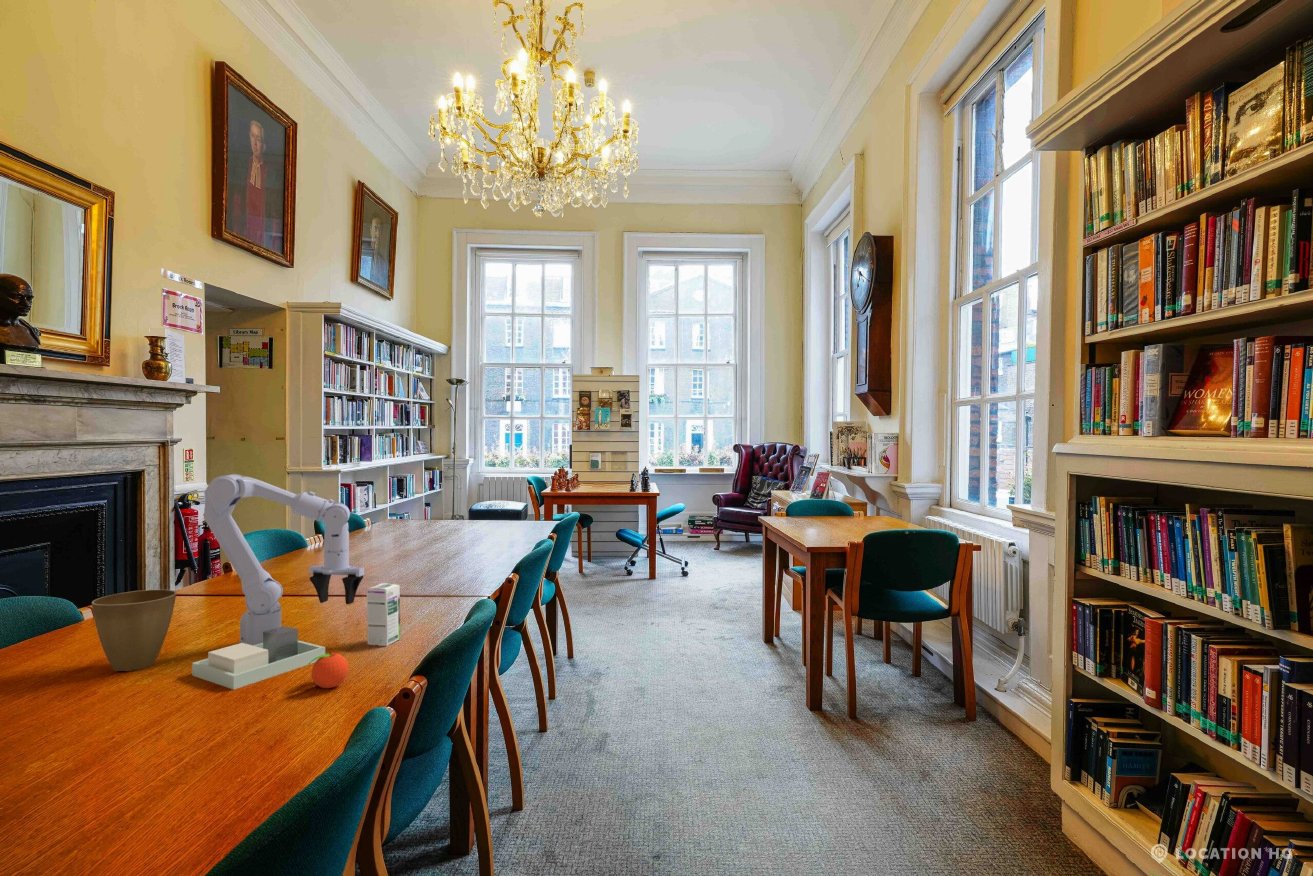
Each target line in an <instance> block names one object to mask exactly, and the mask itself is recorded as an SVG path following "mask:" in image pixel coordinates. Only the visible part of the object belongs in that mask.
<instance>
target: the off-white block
mask: <svg viewBox="0 0 1313 876" xmlns="http://www.w3.org/2000/svg"><path fill="white" fill-rule="evenodd" d="M207 658H208V666H211V667H214V668H218V669H221V670H224V671H227V672H230V673H233V674H238V673H241V672H245V671H248V670H251V669H254V668H257V667H260V666H263V665H267V664H268V650H267V649H263V648H260V647H256V646H252V645H249V644H245V643H240V642H239V643H236V644H233V645H229V646H225V647H221V648H218V649H215V650H211V651H208V653H207Z"/></svg>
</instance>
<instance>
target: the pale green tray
mask: <svg viewBox="0 0 1313 876" xmlns="http://www.w3.org/2000/svg"><path fill="white" fill-rule="evenodd" d="M253 646H256V647H260V648H263V643H260V644H256V645H253ZM325 654H326V647H325V646H323V645H318V644H314V643H310V642H305V641H302V640H299V639H298V655H295V656H292V657H289V658H286V659H282V660H279V661H276V662H273V663H270V664H267V665H263V666H260V667H257V668H254V669H251V670H248V671H245V672H241V673H238V674H233V673H230V672H227V671H224V670H221V669H218V668H214V667H211V666H208V657H207V658H205V659H201V660H198V661H194V662H191V676H192V677H195V678H199V679H201V680H204V681H207V682H210V683H213V684H215V685H219V686H221V687H225V688H228V689H230V690H233V691H234V690H237V689H239V688H240V689H241V688H244V687H246V686H249V685H252V684H254V683H258V682H261V681H263V680H264V681H265V680H267V679H270V678H273V677H276V676H279V675H282V674H285V673H288V672H290V671H294V670H296V669H300V668H302V667H303V668H304V667H305V666H306V667H307V665H308V664H309V663H310V662H311V661H312V660H313V659H315V658H316V657H318V656H321V655H325ZM318 659H319V658H318ZM318 659H316V660H314V661H312V662H311V663H310V664H309V665H311V664H315V662H316V661H317V660H318ZM309 665H308V666H309Z"/></svg>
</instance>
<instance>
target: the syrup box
mask: <svg viewBox="0 0 1313 876" xmlns="http://www.w3.org/2000/svg"><path fill="white" fill-rule="evenodd" d="M400 591H401V588H400V583H393V582H391V583H390V582H388V583H386V582H384V583H383V582H382V583H379V584H377V585H373V586H371V587H368V588H367V589H366V623H367V624H366V627H367V628H366V630H367V645H368V646H369V645H370V646H375V645H378V646H377V647H388V646H390V645H391V644H393V643H395V642H397V641H400V640H401V639H402V638H401V596H400V595H401V593H400Z"/></svg>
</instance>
